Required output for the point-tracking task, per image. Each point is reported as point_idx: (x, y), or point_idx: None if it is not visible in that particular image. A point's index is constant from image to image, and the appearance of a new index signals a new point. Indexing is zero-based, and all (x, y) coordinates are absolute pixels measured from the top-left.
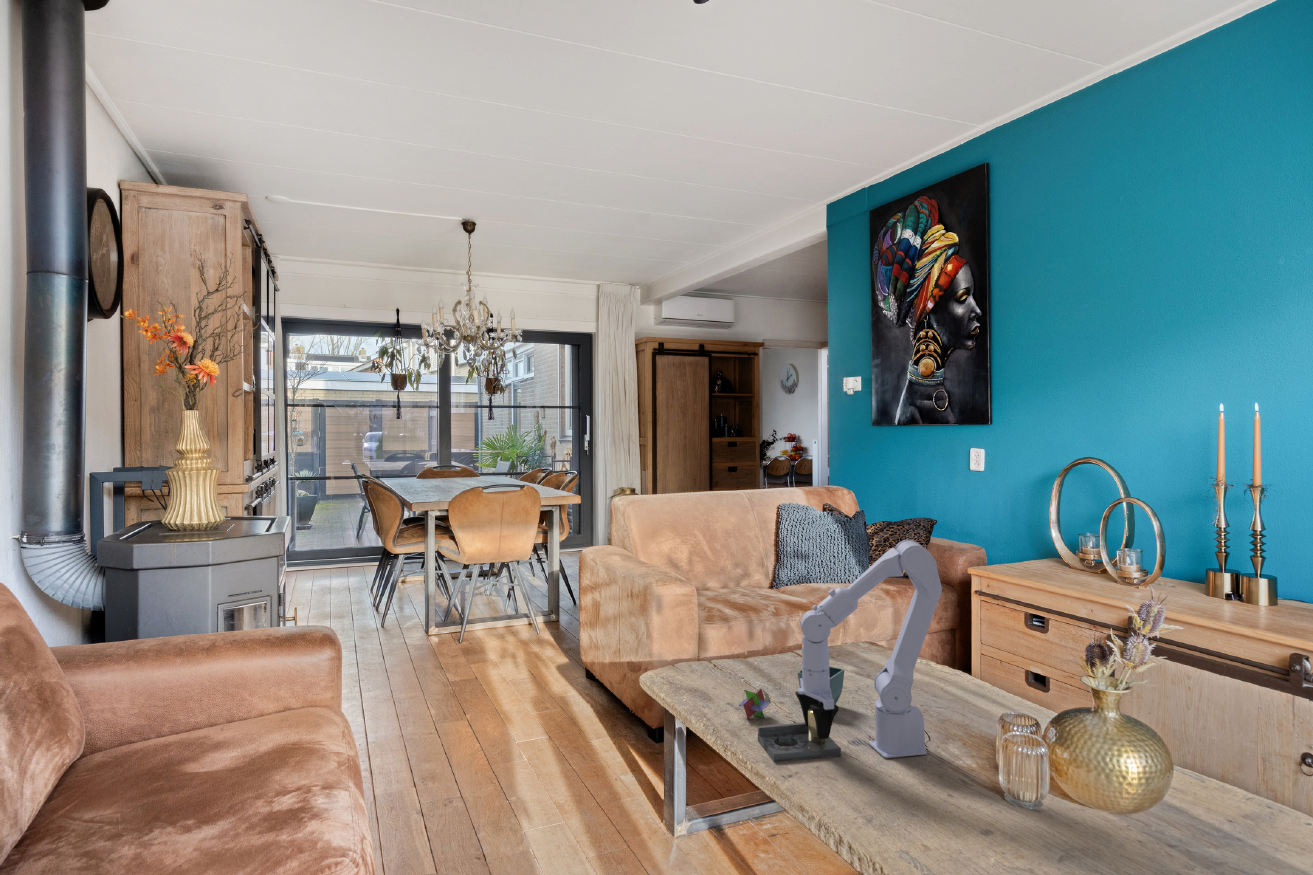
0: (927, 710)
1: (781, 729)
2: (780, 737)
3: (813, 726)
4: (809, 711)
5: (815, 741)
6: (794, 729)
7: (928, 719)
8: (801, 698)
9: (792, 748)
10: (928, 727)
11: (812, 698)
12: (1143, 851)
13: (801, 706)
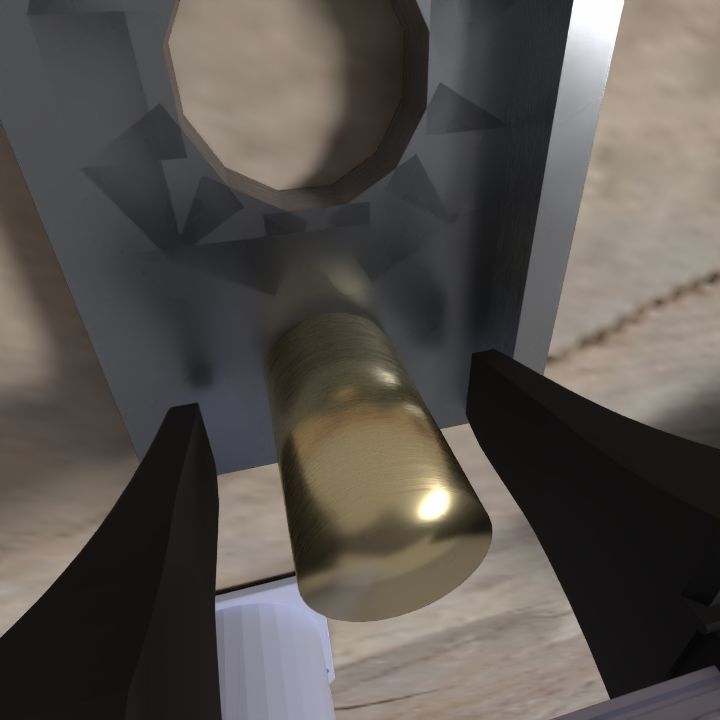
0: (547, 695)
1: (534, 103)
2: (425, 51)
3: (294, 423)
4: (400, 502)
5: (272, 353)
6: (509, 238)
7: (485, 699)
8: (671, 516)
9: (116, 104)
10: (425, 703)
11: (616, 601)
12: None
13: (620, 425)
